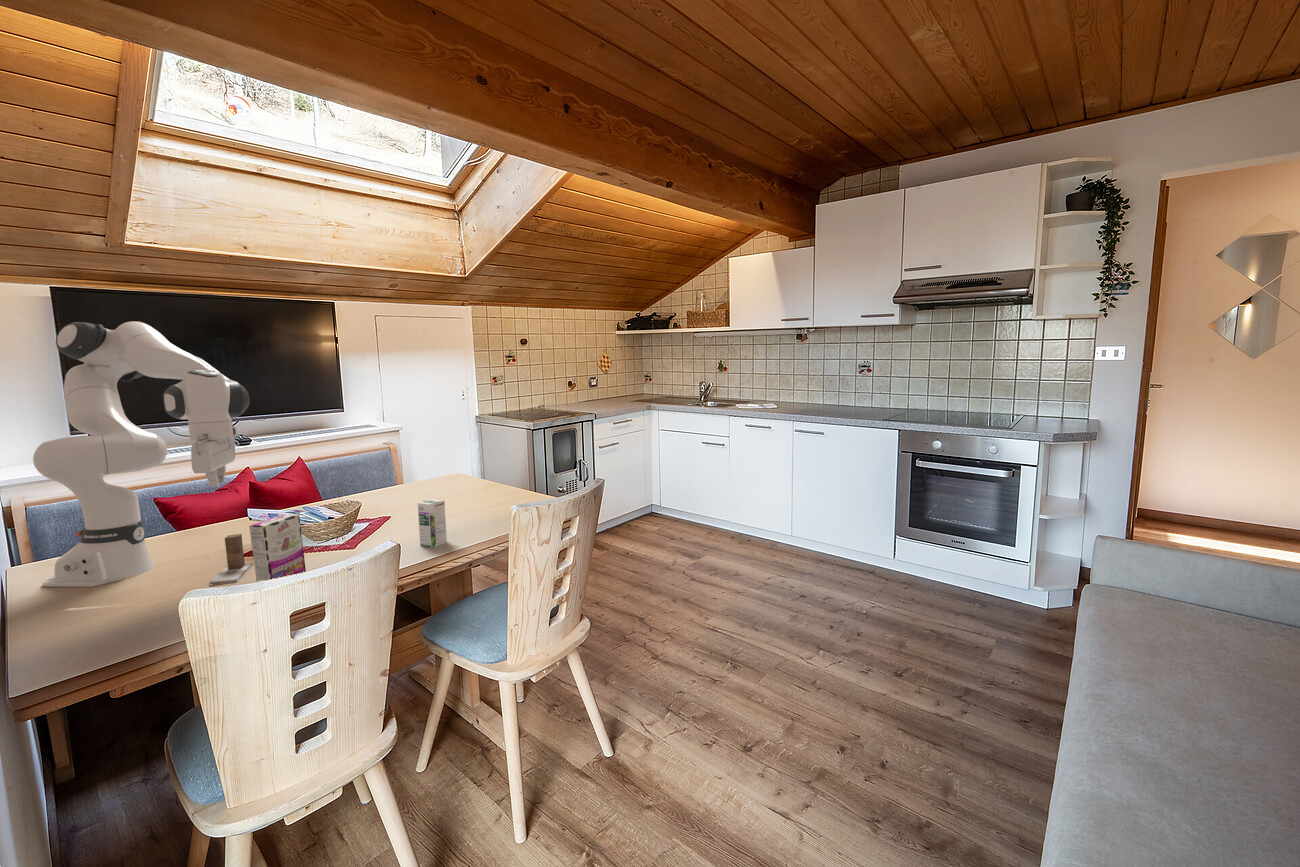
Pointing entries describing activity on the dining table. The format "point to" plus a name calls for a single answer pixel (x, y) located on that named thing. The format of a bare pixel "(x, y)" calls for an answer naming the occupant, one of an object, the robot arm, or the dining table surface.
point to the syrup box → (432, 523)
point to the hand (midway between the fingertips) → (217, 484)
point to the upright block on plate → (232, 561)
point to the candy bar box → (277, 547)
